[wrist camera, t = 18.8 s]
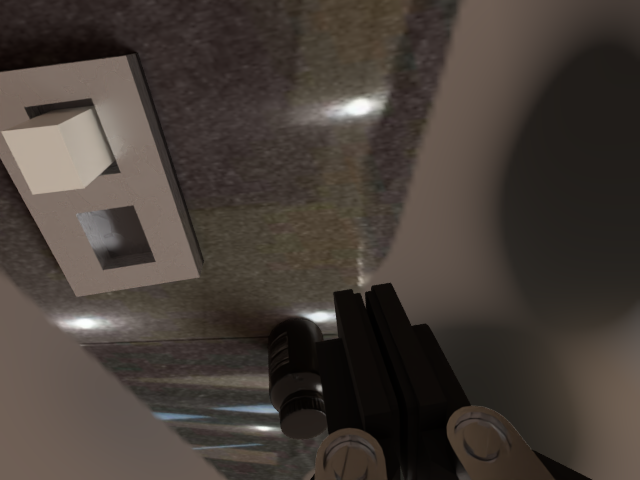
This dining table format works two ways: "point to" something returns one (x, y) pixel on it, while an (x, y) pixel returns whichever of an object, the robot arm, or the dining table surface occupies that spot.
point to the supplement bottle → (296, 378)
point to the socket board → (106, 179)
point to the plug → (60, 149)
